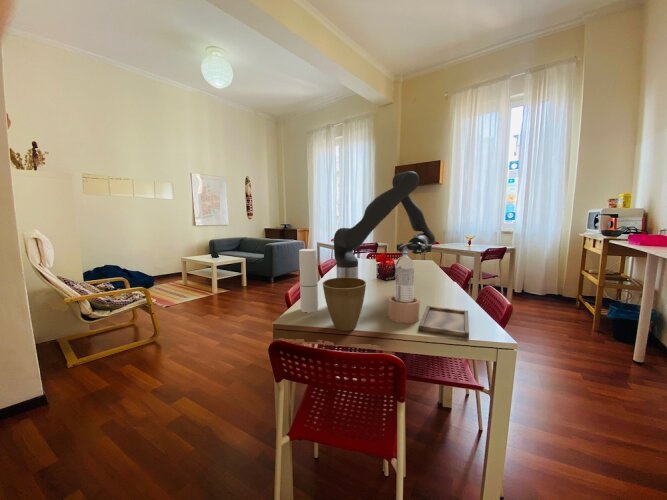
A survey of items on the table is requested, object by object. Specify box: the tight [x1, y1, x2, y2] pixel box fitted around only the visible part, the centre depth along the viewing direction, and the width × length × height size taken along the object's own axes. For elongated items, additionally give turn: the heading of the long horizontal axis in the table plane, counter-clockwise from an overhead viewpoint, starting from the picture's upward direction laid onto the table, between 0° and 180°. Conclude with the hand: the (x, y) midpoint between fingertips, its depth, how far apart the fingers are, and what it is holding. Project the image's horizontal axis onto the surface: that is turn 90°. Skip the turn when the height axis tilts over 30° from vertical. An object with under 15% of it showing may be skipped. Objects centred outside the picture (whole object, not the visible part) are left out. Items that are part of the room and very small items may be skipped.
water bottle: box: [394, 251, 415, 303], centre depth 102 cm, size 7×7×25 cm
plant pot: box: [322, 277, 367, 332], centre depth 94 cm, size 15×15×16 cm
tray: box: [418, 305, 470, 340], centre depth 98 cm, size 15×22×2 cm
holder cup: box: [387, 295, 421, 324], centre depth 103 cm, size 11×11×7 cm
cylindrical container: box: [298, 248, 319, 314], centre depth 111 cm, size 7×7×25 cm
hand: (410, 250), depth 112 cm, fingers open, 8 cm apart
